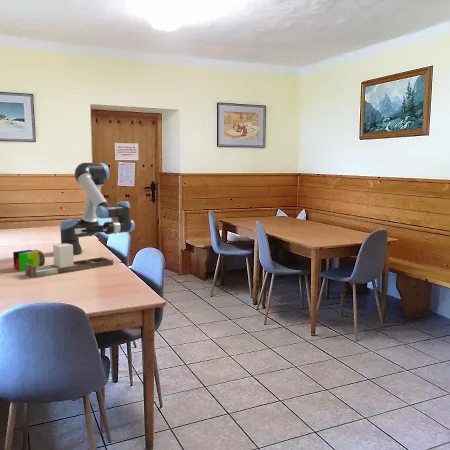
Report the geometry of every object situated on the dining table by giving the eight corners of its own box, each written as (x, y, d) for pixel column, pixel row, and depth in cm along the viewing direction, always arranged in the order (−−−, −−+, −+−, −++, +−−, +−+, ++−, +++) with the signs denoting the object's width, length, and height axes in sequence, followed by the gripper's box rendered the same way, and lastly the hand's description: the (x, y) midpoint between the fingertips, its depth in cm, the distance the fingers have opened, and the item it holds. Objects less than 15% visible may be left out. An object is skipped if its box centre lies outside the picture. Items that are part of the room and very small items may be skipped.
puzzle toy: (30, 266, 275) (29, 249, 274) (39, 268, 269) (38, 251, 267) (14, 268, 267) (13, 252, 266) (22, 271, 261) (21, 254, 260)
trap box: (25, 274, 254) (25, 263, 253) (103, 261, 288) (102, 252, 287) (34, 278, 246) (34, 267, 245) (113, 264, 279) (112, 255, 278)
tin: (45, 265, 276) (44, 251, 275) (40, 266, 274) (39, 252, 273) (35, 261, 287) (34, 248, 286) (30, 262, 285) (29, 249, 284)
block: (54, 265, 263) (53, 244, 261) (67, 263, 269) (66, 243, 267) (60, 267, 257) (59, 246, 256) (73, 265, 263) (72, 244, 261)
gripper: (117, 234, 278) (81, 239, 262) (105, 232, 288) (70, 236, 271) (117, 222, 277) (80, 226, 261) (105, 220, 287) (69, 224, 270)
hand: (75, 231), depth 266 cm, fingers closed
